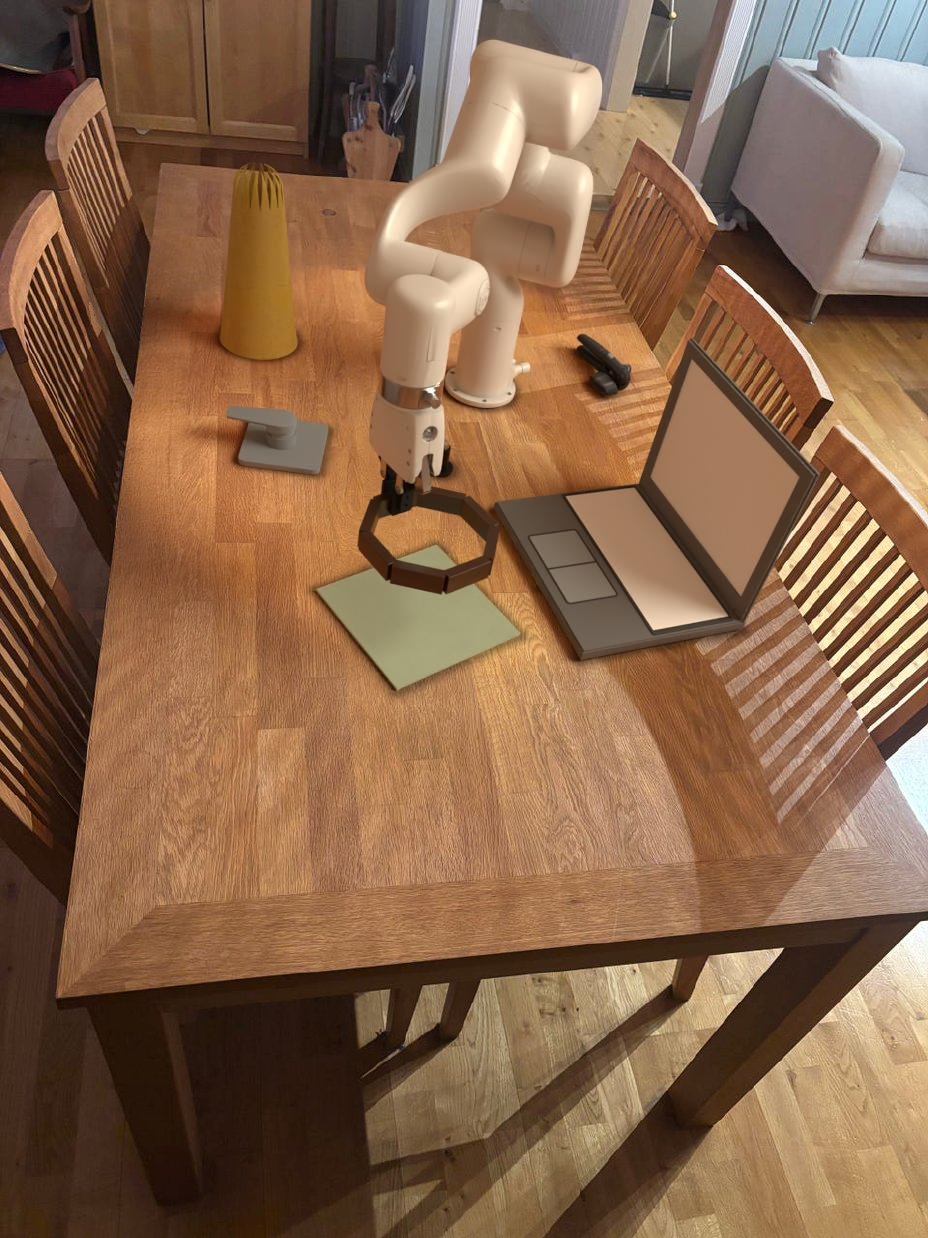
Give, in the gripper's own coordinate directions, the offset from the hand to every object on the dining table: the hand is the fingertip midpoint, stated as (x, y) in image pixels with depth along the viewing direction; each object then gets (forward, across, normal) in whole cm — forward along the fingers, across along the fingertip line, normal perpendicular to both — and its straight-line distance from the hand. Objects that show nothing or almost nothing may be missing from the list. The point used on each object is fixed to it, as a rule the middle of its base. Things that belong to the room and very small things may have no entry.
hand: (395, 506), depth 126 cm
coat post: (+13, +17, -21) cm, 30 cm away
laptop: (+13, -14, -31) cm, 36 cm away
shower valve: (+13, +33, -1) cm, 36 cm away
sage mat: (+13, -8, 0) cm, 15 cm away
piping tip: (+13, +62, -13) cm, 65 cm away
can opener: (+13, +28, -65) cm, 72 cm away
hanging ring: (+1, -8, 0) cm, 8 cm away
